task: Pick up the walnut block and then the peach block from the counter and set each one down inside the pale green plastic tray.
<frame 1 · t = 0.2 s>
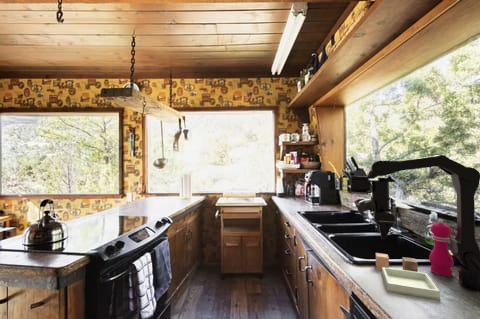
hand: (381, 235, 94), 14 cm above the worktop, tool pointing down, fingers open, 9 cm apart
tray: (408, 285, 84), on the worktop
peach block: (382, 268, 98), on the worktop
pepper mill: (441, 272, 94), on the worktop
walnut block: (409, 273, 94), on the worktop
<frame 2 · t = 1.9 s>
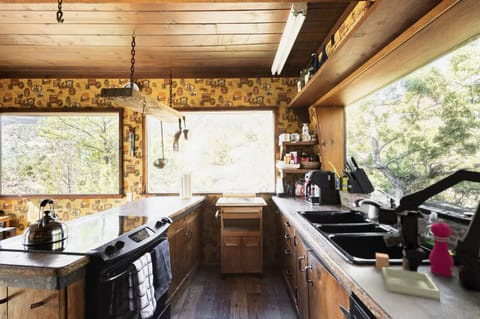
hand: (409, 270, 94), 1 cm above the worktop, tool pointing down, fingers open, 7 cm apart
nothing on the worktop moved.
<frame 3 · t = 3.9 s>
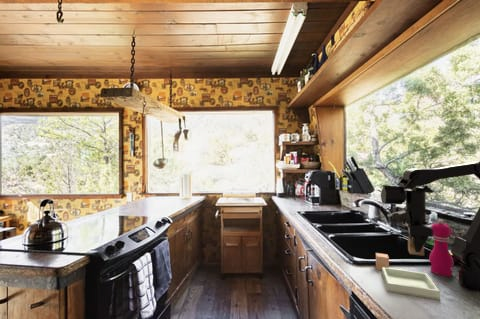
hand: (416, 250, 87), 11 cm above the worktop, tool pointing down, fingers closed on walnut block, 4 cm apart
walnut block: (415, 252, 87), point 10 cm above the worktop, touching gripper
everything else where it was.
when the fingers open (3 cm above the worktop, at t = 5.7 s): walnut block drops 2 cm, resting on tray.
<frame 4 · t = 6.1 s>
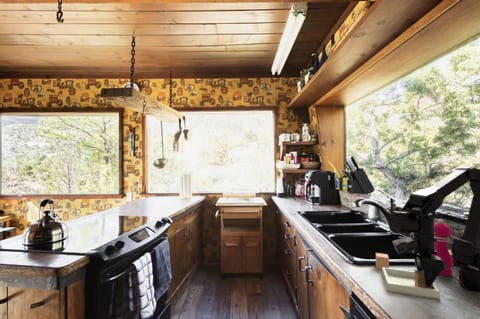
hand: (424, 280, 81), 3 cm above the worktop, tool pointing down, fingers open, 8 cm apart
walnut block: (423, 288, 81), point 1 cm above the worktop, touching tray
everything else where it was.
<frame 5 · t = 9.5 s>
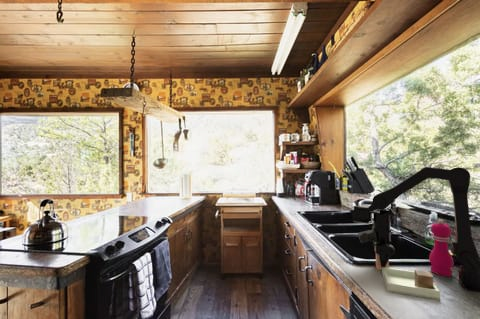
hand: (382, 265, 98), 1 cm above the worktop, tool pointing down, fingers closed on peach block, 4 cm apart
peach block: (382, 268, 98), on the worktop, touching gripper
everything else where it was.
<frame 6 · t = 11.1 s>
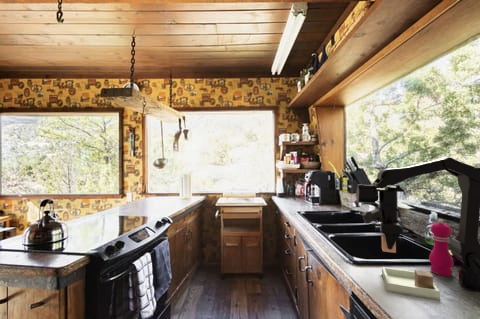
hand: (388, 247, 90), 11 cm above the worktop, tool pointing down, fingers closed on peach block, 4 cm apart
peach block: (388, 250, 90), point 10 cm above the worktop, touching gripper
everything else where it was.
when the fingers open (3 cm above the worktop, at t = 12.8 s): peach block moves 1 cm and tips over, resting on tray.
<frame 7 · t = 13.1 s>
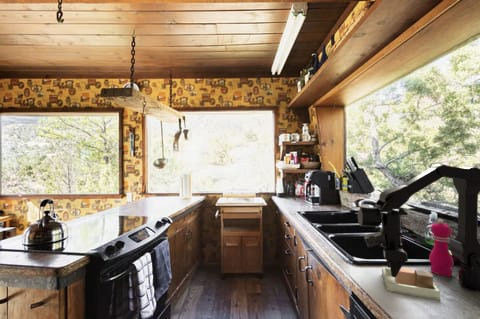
hand: (391, 272, 87), 3 cm above the worktop, tool pointing down, fingers open, 8 cm apart
peach block: (396, 274, 87), point 3 cm above the worktop, tilted 90°, touching tray
everything else where it was.
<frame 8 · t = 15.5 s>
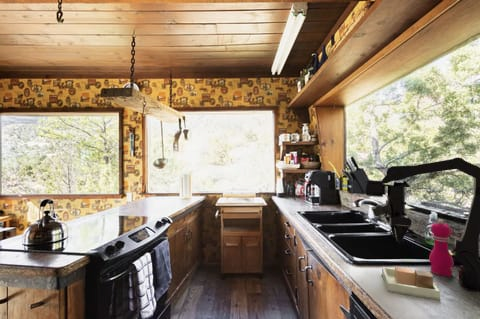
hand: (396, 238, 97), 12 cm above the worktop, tool pointing down, fingers open, 9 cm apart
nothing on the worktop moved.
at the end: walnut block inside the target area on the tray (4.4 cm from its centre), point 0.6 cm above the tray's base; peach block inside the target area on the tray (3.5 cm from its centre), point 2.6 cm above the tray's base; the gripper is holding nothing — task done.
